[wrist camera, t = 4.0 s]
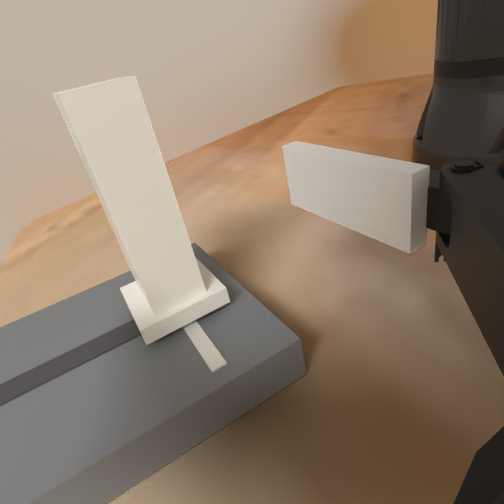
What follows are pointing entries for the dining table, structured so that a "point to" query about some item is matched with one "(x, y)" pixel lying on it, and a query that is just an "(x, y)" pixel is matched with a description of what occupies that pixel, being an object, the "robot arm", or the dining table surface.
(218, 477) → the dining table surface
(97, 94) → the fader tab
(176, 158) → the dining table surface
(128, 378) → the slider console
